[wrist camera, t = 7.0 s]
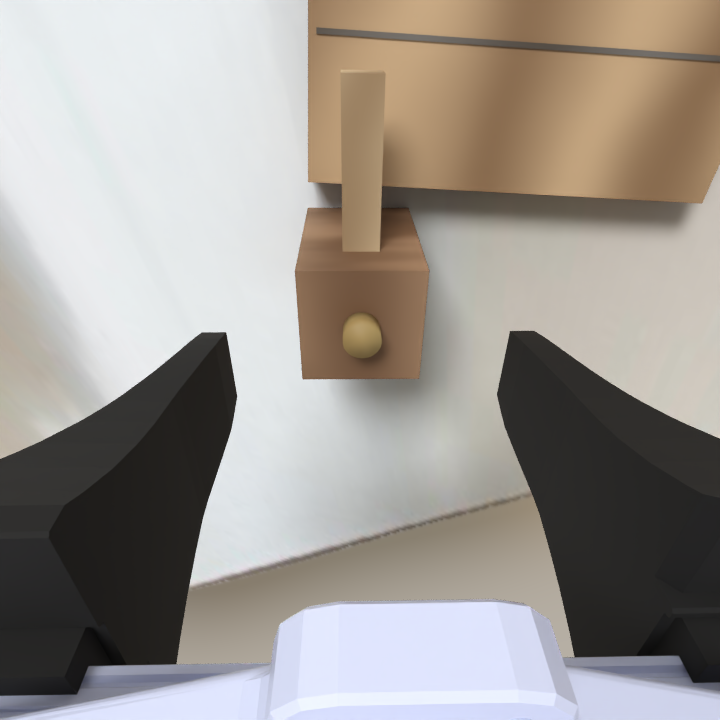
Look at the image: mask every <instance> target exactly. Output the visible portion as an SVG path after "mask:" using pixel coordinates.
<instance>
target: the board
mask: <svg viewBox="0 0 720 720" xmlns="http://www.w3.org/2000/svg"><path fill="white" fill-rule="evenodd" d="M341 70H384V72H385V73H386V77H385V107H384V137H383V167H382V186H391V187H409V188H428V189H446V190H464V191H483V192H501V193H520V194H538V195H557V196H575V197H593V198H612V199H630V200H649V201H667V202H685V203H702V202H703V200H704V198H705V195H706V193H707V191H708V189H709V186H710V184H711V182H712V180H713V178H714V175H715V173H716V171H717V169H718V166H719V164H720V0H308V182H317V183H336V184H342V163H341V76H340V73H341Z"/></svg>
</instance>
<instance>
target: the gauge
mask: <svg viewBox="0 0 720 720" xmlns="http://www.w3.org/2000/svg"><path fill="white" fill-rule="evenodd" d="M340 76H341V163H342V208H308V210H307V215H306V220H305V225H304V230H303V234H302V239H301V244H300V249H299V254H298V259H297V264H296V269H295V278H296V293H297V307H298V321H299V335H300V349H301V364H302V378H303V379H419V374H420V364H421V353H422V343H423V332H424V321H425V311H426V300H427V290H428V279H429V268H428V265H427V262H426V259H425V256H424V253H423V250H422V247H421V244H420V241H419V238H418V235H417V232H416V229H415V226H414V223H413V220H412V217H411V214H410V211H409V208H381V198H382V167H383V137H384V107H385V77H386V73H385V72H384V70H341V73H340Z"/></svg>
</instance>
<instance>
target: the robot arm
mask: <svg viewBox="0 0 720 720" xmlns="http://www.w3.org/2000/svg"><path fill="white" fill-rule="evenodd" d="M497 396H498V401H499V405H500V409H501V414H502V418H503V421H504V425H505V428H506V431H507V434H508V436H509V439H510V441H511V444H512V446H513V449H514V451H515V454H516V456H517V458H518V461H519V463H520V466H521V468H522V471H523V473H524V475H525V478H526V480H527V483H528V485H529V487H530V490H531V492H532V495H533V497H534V500H535V503H536V505H537V508H538V511H539V513H540V517H541V521H542V524H543V528H544V531H545V535H546V538H547V542H548V545H549V549H550V553H551V557H552V561H553V564H554V568H555V572H556V576H557V580H558V584H559V587H560V592H561V597H562V600H563V605H564V610H565V614H566V618H567V623H568V627H569V631H570V636H571V641H572V646H573V651H574V656H575V657H574V658H573V657H572V658H571V657H570V658H562V655H561V652H560V649H559V646H558V644H557V641H556V637H555V634H554V632H553V629H552V626H551V623H550V620H549V619H548V618H546V617H544V616H543V615H542V614H540V613H538V612H537V611H535V610H534V609H533V608H531V607H529V606H527V605H526V604H524V603H518V602H511V601H504V600H497V599H465V600H401V601H399V600H397V601H339V602H333V603H327V604H320V605H314V606H308V607H306V608H305V609H303V610H301V611H300V612H298V613H296V614H295V615H293V616H291V617H290V618H288V619H286V620H285V621H284V622H282V623H281V624H280V625H279V628H278V631H277V634H276V637H275V640H274V644H273V653H272V662H271V663H232V664H231V663H229V664H179V665H178V664H176V662H177V655H178V649H179V642H180V636H181V630H182V624H183V618H184V612H185V606H186V600H187V594H188V589H189V584H190V579H191V573H192V568H193V563H194V558H195V553H196V548H197V543H198V538H199V534H200V529H201V524H202V520H203V516H204V512H205V509H206V505H207V502H208V499H209V496H210V493H211V490H212V487H213V484H214V481H215V478H216V475H217V472H218V469H219V466H220V463H221V460H222V457H223V454H224V451H225V447H226V444H227V441H228V438H229V435H230V432H231V428H232V423H233V418H234V412H235V406H236V400H237V393H236V387H235V381H234V375H233V370H232V364H231V358H230V352H229V346H228V340H227V335H226V332H220V333H201V334H199V335H198V336H197V337H195V338H194V339H193V340H192V341H190V342H189V343H188V344H187V345H186V346H184V347H183V348H182V349H181V350H180V351H179V352H177V353H176V354H175V355H174V356H173V357H171V358H170V359H169V360H168V361H166V362H165V363H164V364H163V365H162V366H160V367H159V368H158V369H157V370H155V371H154V372H153V373H152V374H150V375H149V376H148V377H146V378H145V379H144V380H142V381H141V382H139V383H138V384H137V385H135V386H134V387H133V388H131V389H130V390H129V391H127V392H126V393H125V394H123V395H122V396H120V397H119V398H117V399H116V400H114V401H113V402H111V403H110V404H108V405H107V406H105V407H103V408H102V409H100V410H98V411H97V412H95V413H93V414H92V415H90V416H88V417H87V418H85V419H83V420H81V421H80V422H78V423H76V424H74V425H72V426H70V427H68V428H66V429H64V430H62V431H60V432H58V433H56V434H54V435H52V436H50V437H49V438H47V439H45V440H43V441H41V442H39V443H36V444H34V445H32V446H30V447H27V448H25V449H23V450H21V451H18V452H16V453H14V454H11V455H9V456H7V457H4V458H2V459H0V720H720V439H719V438H717V437H714V436H712V435H710V434H708V433H705V432H703V431H701V430H698V429H696V428H694V427H691V426H689V425H687V424H685V423H682V422H680V421H678V420H676V419H674V418H672V417H670V416H668V415H666V414H664V413H662V412H660V411H658V410H656V409H654V408H652V407H651V406H649V405H647V404H645V403H643V402H641V401H639V400H638V399H636V398H634V397H632V396H631V395H629V394H627V393H626V392H624V391H622V390H621V389H619V388H618V387H616V386H614V385H613V384H611V383H609V382H608V381H606V380H605V379H603V378H602V377H600V376H599V375H597V374H596V373H594V372H593V371H591V370H590V369H588V368H587V367H586V366H584V365H583V364H581V363H580V362H578V361H577V360H576V359H574V358H573V357H571V356H570V355H569V354H567V353H566V352H564V351H563V350H562V349H560V348H559V347H557V346H556V345H555V344H553V343H552V342H550V341H549V340H548V339H546V338H545V337H543V336H542V335H540V334H538V333H537V332H535V331H510V334H509V339H508V344H507V349H506V354H505V359H504V363H503V368H502V373H501V378H500V383H499V388H498V392H497Z"/></svg>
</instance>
